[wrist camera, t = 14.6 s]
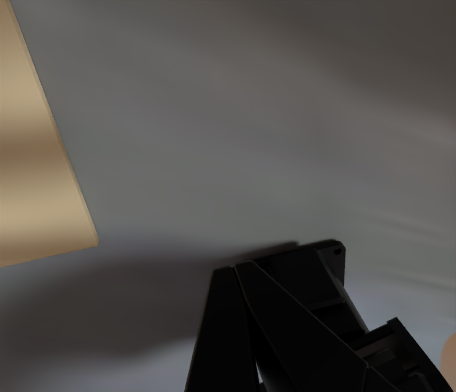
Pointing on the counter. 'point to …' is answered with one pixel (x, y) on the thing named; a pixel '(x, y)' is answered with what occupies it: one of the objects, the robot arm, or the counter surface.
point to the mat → (33, 163)
